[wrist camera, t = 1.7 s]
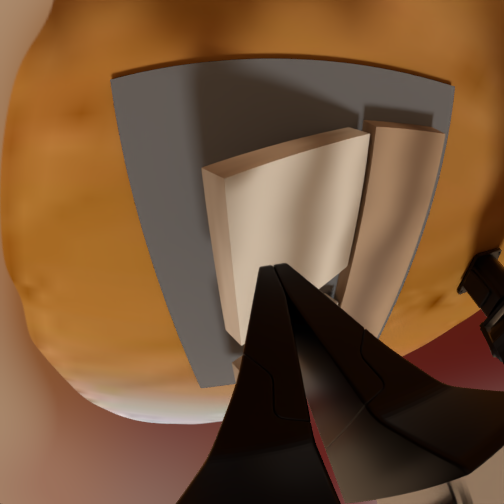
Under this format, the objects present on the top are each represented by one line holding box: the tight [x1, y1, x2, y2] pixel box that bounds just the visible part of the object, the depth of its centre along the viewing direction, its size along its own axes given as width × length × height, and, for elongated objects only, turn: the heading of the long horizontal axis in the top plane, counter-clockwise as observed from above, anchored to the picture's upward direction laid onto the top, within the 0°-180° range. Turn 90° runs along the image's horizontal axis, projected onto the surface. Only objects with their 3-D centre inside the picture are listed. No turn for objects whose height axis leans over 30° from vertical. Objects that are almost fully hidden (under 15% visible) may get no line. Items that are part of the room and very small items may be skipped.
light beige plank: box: [201, 127, 370, 346], centre depth 16 cm, size 10×10×2 cm
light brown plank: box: [334, 120, 445, 338], centre depth 23 cm, size 6×25×2 cm, turn 2°
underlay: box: [110, 59, 455, 388], centre depth 23 cm, size 22×32×1 cm
